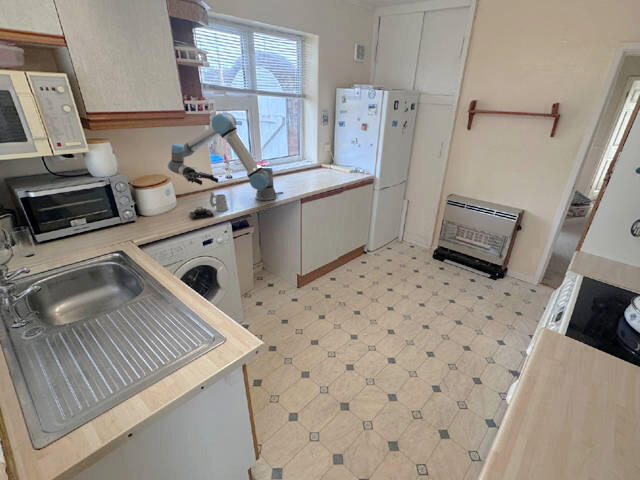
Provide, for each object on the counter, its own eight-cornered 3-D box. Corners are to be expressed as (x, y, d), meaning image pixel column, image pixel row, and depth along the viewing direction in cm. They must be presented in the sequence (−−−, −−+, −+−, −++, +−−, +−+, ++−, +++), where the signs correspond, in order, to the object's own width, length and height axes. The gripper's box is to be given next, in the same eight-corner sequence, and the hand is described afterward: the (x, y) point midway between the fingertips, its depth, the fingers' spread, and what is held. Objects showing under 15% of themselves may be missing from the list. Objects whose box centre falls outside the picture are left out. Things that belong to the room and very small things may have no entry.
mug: (224, 211, 211) (222, 194, 206) (208, 210, 213) (205, 193, 208) (230, 208, 218) (228, 191, 213) (214, 207, 220) (211, 190, 215)
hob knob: (203, 209, 204) (203, 206, 204) (205, 211, 201) (204, 208, 200) (196, 210, 202) (195, 207, 201) (197, 212, 199) (197, 209, 198)
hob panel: (209, 212, 210) (208, 206, 208) (213, 216, 202) (212, 210, 201) (190, 215, 204) (189, 209, 202) (193, 220, 196) (192, 213, 195)
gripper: (201, 175, 231) (223, 185, 224) (171, 179, 210) (194, 189, 203) (202, 165, 228) (224, 174, 221) (171, 167, 207) (194, 178, 200)
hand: (210, 181), depth 212 cm, fingers open, 13 cm apart
